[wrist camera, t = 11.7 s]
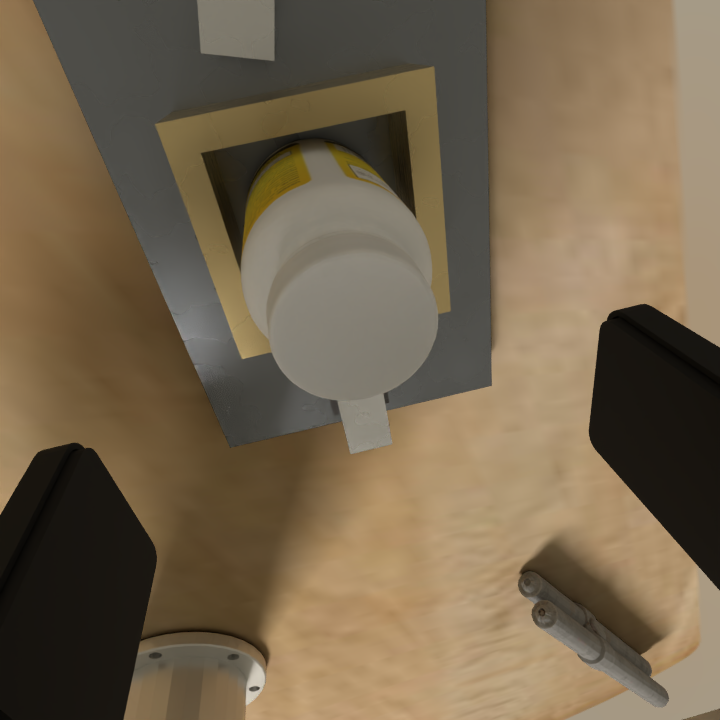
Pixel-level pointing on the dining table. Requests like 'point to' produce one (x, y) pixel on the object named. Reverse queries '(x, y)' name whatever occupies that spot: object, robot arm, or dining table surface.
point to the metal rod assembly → (590, 638)
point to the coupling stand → (266, 135)
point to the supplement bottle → (336, 272)
